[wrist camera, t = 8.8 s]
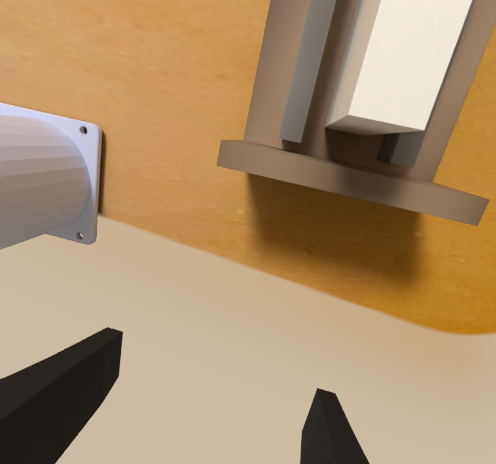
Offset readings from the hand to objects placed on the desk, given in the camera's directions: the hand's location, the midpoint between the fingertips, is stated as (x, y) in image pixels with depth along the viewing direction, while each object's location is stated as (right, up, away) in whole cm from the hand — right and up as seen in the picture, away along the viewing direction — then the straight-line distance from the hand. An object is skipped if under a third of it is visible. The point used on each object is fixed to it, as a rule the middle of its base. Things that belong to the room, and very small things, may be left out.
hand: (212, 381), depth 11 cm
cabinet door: (+7, +14, +4) cm, 16 cm away
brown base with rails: (+7, +14, +5) cm, 17 cm away
